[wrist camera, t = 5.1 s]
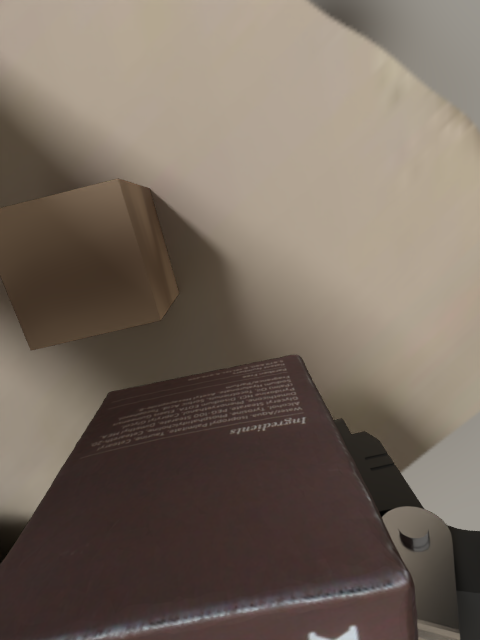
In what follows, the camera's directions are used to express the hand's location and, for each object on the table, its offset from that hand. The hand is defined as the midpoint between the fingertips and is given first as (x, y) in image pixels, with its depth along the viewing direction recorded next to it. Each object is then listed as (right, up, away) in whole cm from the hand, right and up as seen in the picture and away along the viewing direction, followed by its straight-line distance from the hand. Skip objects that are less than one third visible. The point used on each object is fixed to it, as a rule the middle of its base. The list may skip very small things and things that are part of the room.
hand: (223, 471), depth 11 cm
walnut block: (-6, +8, +7) cm, 12 cm away
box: (0, 0, +1) cm, 1 cm away
